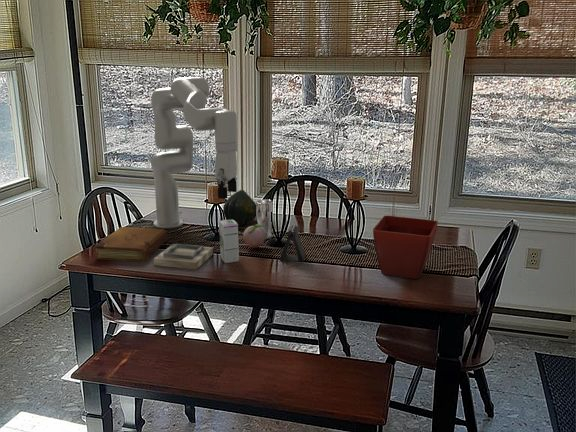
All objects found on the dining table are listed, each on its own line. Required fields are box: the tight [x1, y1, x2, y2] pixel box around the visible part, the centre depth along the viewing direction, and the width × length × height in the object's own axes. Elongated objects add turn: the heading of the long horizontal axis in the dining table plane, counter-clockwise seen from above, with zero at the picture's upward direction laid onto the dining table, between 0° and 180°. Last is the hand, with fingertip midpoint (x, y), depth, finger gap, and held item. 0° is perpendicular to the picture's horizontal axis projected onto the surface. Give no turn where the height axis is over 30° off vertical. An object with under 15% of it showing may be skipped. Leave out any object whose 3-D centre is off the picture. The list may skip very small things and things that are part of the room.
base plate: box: [153, 243, 214, 270], centre depth 212 cm, size 16×16×4 cm
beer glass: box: [255, 198, 274, 240], centre depth 235 cm, size 7×7×15 cm
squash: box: [222, 189, 256, 227], centre depth 254 cm, size 14×15×15 cm
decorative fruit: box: [242, 223, 266, 249], centre depth 222 cm, size 9×8×10 cm
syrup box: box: [218, 219, 240, 264], centre depth 210 cm, size 6×6×14 cm
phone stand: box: [278, 225, 307, 263], centre depth 212 cm, size 9×6×12 cm, turn 80°
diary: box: [94, 226, 168, 263], centre depth 221 cm, size 23×19×6 cm
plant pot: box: [372, 215, 439, 280], centre depth 201 cm, size 19×19×17 cm
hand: (227, 194), depth 205 cm, fingers open, 9 cm apart
